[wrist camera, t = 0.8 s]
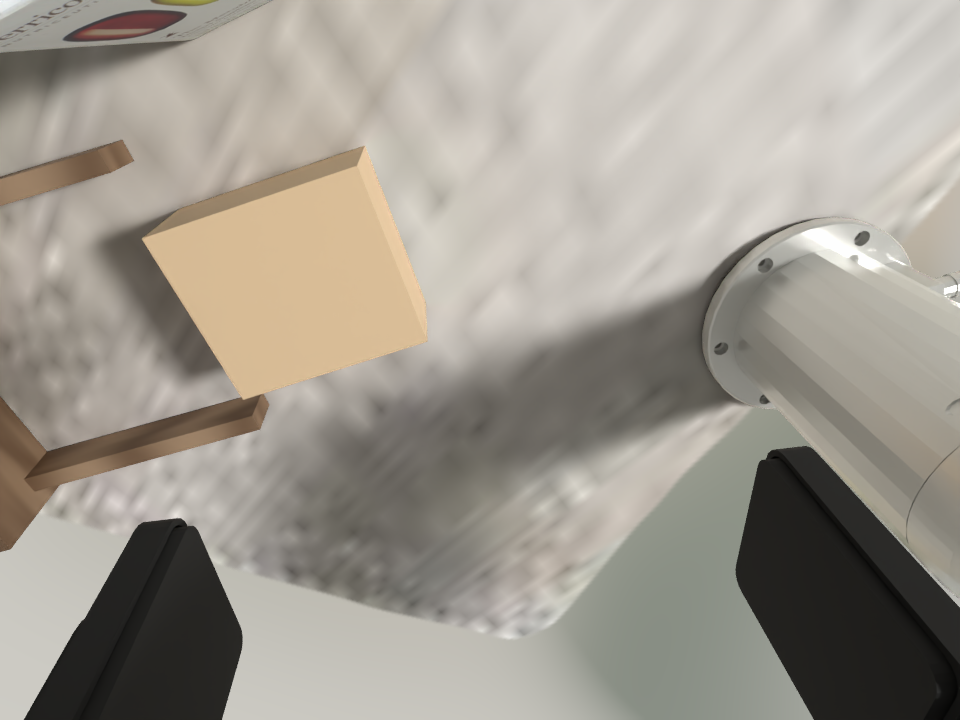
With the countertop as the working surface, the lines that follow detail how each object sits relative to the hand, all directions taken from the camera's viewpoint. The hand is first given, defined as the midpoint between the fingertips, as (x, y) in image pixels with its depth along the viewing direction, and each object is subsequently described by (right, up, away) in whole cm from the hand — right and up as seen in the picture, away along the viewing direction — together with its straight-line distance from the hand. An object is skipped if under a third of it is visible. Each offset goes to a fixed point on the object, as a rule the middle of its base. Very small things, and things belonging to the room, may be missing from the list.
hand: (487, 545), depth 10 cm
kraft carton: (-9, +9, +22) cm, 25 cm away
